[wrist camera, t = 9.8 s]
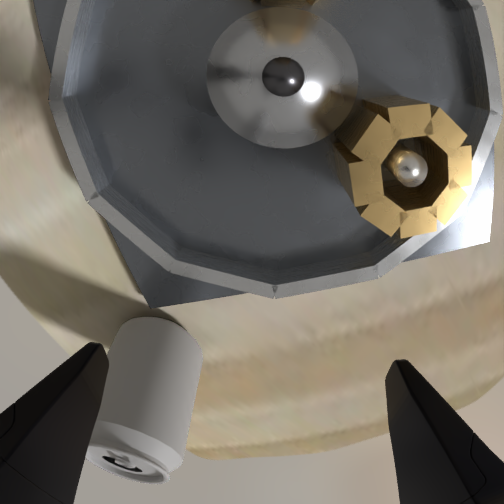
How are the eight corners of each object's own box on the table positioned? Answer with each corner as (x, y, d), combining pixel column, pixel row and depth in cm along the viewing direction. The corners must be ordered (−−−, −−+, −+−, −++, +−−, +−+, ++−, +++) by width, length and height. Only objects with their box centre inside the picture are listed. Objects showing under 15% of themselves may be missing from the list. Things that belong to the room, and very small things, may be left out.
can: (114, 347, 27) (68, 459, 17) (131, 294, 24) (68, 428, 13) (187, 379, 29) (162, 495, 18) (219, 333, 25) (194, 476, 15)
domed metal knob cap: (200, 35, 13) (187, 29, 11) (328, 7, 12) (338, -4, 10) (235, 150, 17) (229, 164, 14) (356, 125, 16) (371, 135, 13)
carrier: (39, -15, 11) (-5, -22, 8) (419, -106, 7) (447, -132, 3) (154, 299, 24) (136, 342, 20) (482, 234, 19) (514, 268, 15)
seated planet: (323, 105, 15) (339, 115, 12) (429, 92, 14) (467, 100, 11) (343, 212, 18) (359, 247, 15) (438, 194, 17) (470, 223, 14)
